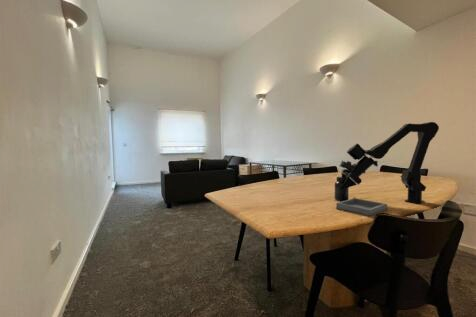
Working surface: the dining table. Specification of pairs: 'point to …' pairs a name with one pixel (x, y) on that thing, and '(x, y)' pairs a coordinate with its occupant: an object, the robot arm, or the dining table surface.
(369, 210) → the slate tray
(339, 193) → the supplement bottle
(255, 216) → the dining table surface
